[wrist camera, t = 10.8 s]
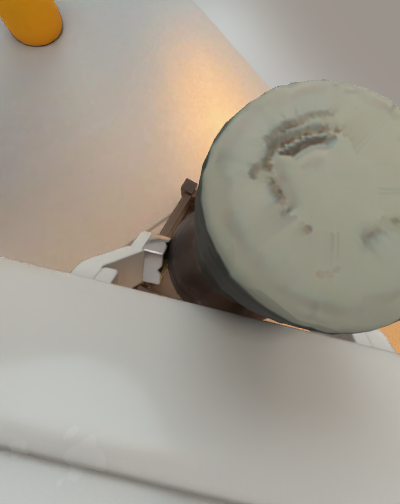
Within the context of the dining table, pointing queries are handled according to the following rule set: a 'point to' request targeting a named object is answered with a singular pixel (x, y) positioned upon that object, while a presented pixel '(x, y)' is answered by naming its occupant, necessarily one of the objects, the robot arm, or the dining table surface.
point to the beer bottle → (32, 20)
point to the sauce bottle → (299, 212)
